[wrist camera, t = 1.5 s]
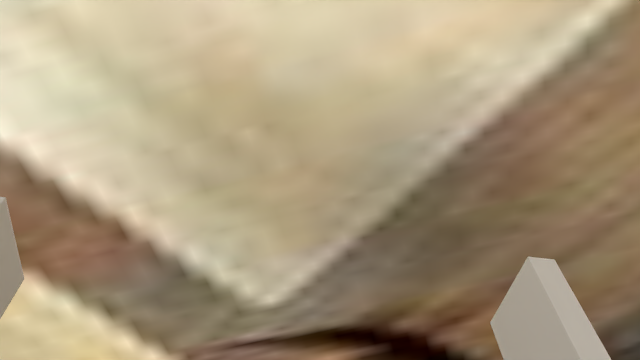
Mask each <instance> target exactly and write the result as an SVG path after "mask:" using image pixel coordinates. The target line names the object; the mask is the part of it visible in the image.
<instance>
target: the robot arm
mask: <svg viewBox="0 0 640 360" xmlns="http://www.w3.org/2000/svg"><path fill="white" fill-rule="evenodd" d="M23 280H24V275H23V271H22V266H21V262H20V258H19V254H18V249H17V245H16V241H15V236H14V232H13V228H12V223H11V219H10V215H9V210H8V206H7V202H6V197H0V318H1V317H2V315H3V313H4V312H5V310H6V308H7V307H8V305H9V303H10V302H11V300H12V298H13V297H14V295H15V293H16V292H17V290H18V288H19V287H20V285H21V283H22V282H23ZM490 324H491V327H492V329H493V332H494V335H495V337H496V340H497V343H498V345H499V348H500V351H501V354H502V356H503V359H504V360H611V358H610V356H609V355H608V353H607V351H606V349H605V348H604V346H603V344H602V342H601V341H600V339H599V337H598V335H597V334H596V332H595V330H594V328H593V326H592V325H591V323H590V321H589V319H588V318H587V316H586V314H585V312H584V311H583V309H582V307H581V305H580V304H579V302H578V300H577V298H576V297H575V295H574V293H573V291H572V290H571V288H570V286H569V284H568V282H567V281H566V279H565V277H564V275H563V274H562V272H561V270H560V268H559V267H558V265H557V263H556V261H555V260H554V259H545V258H536V257H527V259H526V261H525V262H524V264H523V266H522V268H521V269H520V271H519V273H518V275H517V276H516V278H515V280H514V282H513V283H512V285H511V287H510V289H509V290H508V292H507V294H506V296H505V297H504V299H503V301H502V303H501V304H500V306H499V308H498V310H497V311H496V313H495V315H494V317H493V318H492V320H491V322H490Z"/></svg>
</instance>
